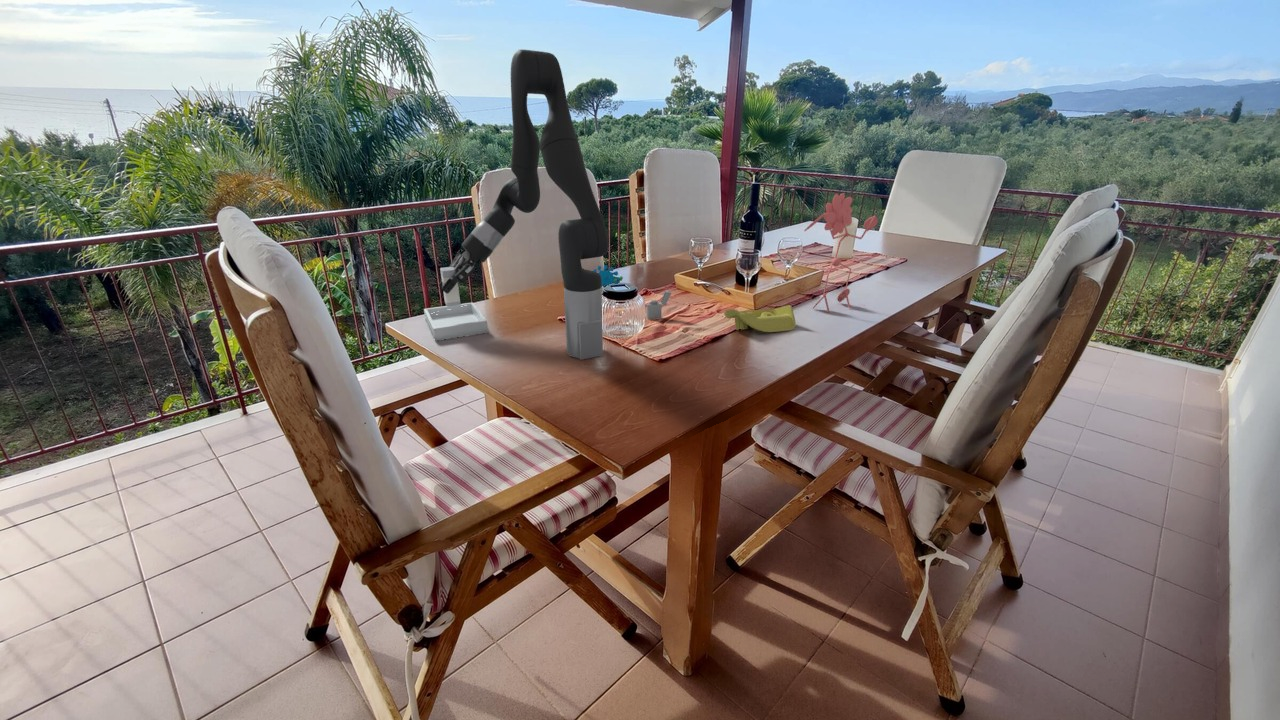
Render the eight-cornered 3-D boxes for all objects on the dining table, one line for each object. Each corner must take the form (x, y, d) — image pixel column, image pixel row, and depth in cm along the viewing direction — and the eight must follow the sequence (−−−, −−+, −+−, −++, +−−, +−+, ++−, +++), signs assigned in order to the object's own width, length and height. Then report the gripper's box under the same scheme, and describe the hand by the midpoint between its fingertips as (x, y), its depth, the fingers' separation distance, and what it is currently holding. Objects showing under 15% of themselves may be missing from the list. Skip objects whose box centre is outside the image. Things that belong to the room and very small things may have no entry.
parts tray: (488, 332, 151) (486, 320, 149) (435, 341, 145) (433, 328, 143) (474, 313, 165) (472, 302, 164) (425, 320, 159) (423, 308, 158)
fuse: (460, 304, 152) (456, 269, 148) (447, 306, 150) (442, 271, 146) (458, 301, 155) (453, 266, 150) (444, 302, 153) (440, 267, 149)
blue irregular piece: (591, 287, 185) (591, 262, 189) (589, 296, 191) (589, 271, 194) (623, 290, 188) (623, 265, 192) (620, 298, 193) (619, 274, 197)
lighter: (648, 318, 163) (648, 293, 159) (646, 317, 164) (647, 291, 161) (670, 317, 164) (671, 291, 161) (668, 315, 166) (669, 289, 163)
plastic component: (772, 309, 165) (794, 304, 156) (775, 333, 165) (797, 329, 156) (717, 313, 157) (737, 307, 148) (720, 338, 156) (740, 334, 147)
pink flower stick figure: (870, 305, 176) (889, 193, 162) (811, 318, 165) (826, 198, 151) (834, 294, 189) (849, 188, 175) (777, 304, 177) (788, 193, 164)
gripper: (466, 227, 153) (427, 274, 153) (477, 237, 142) (435, 288, 142) (487, 244, 158) (449, 290, 158) (500, 255, 146) (459, 304, 146)
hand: (443, 289), depth 150 cm, fingers closed on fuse, 3 cm apart
